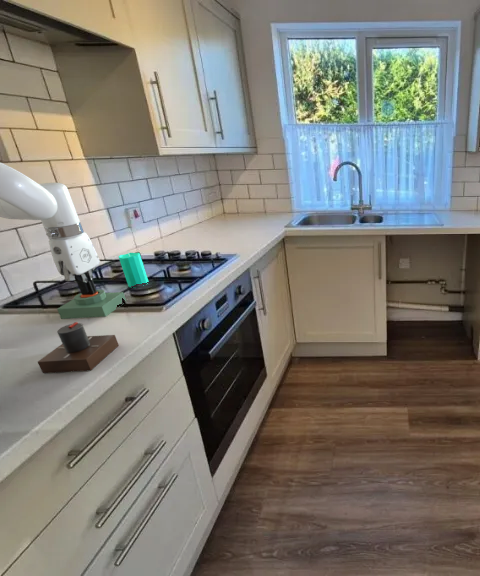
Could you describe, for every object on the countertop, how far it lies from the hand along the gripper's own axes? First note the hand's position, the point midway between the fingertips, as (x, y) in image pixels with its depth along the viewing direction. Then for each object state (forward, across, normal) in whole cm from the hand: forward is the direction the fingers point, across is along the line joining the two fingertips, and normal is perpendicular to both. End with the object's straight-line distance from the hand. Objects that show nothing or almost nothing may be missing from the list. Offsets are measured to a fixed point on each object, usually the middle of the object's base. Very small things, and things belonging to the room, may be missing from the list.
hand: (89, 293), depth 104 cm
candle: (+6, +19, -2) cm, 20 cm away
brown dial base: (+5, -26, -14) cm, 30 cm away
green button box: (+5, 0, 0) cm, 5 cm away
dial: (+2, -26, -14) cm, 30 cm away
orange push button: (+2, 0, 0) cm, 2 cm away
